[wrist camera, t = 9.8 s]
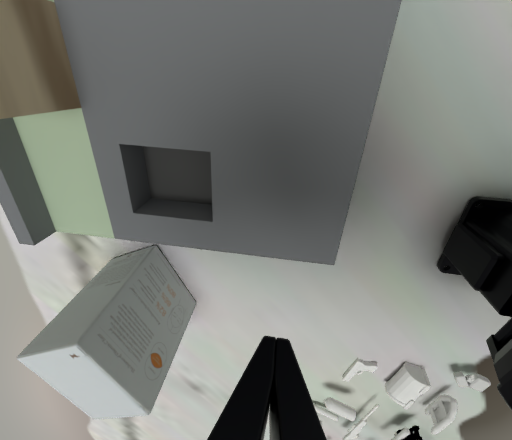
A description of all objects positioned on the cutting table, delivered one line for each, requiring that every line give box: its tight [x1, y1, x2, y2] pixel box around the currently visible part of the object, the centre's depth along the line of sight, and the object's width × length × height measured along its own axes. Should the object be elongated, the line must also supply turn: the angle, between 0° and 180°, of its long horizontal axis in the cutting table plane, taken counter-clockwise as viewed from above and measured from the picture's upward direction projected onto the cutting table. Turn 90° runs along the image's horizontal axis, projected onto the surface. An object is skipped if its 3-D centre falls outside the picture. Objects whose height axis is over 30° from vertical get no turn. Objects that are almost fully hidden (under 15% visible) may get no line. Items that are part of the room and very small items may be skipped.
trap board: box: [0, 0, 401, 265], centre depth 14 cm, size 23×24×5 cm
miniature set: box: [314, 358, 491, 440], centre depth 33 cm, size 6×35×12 cm
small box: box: [17, 245, 196, 419], centre depth 22 cm, size 8×6×10 cm
